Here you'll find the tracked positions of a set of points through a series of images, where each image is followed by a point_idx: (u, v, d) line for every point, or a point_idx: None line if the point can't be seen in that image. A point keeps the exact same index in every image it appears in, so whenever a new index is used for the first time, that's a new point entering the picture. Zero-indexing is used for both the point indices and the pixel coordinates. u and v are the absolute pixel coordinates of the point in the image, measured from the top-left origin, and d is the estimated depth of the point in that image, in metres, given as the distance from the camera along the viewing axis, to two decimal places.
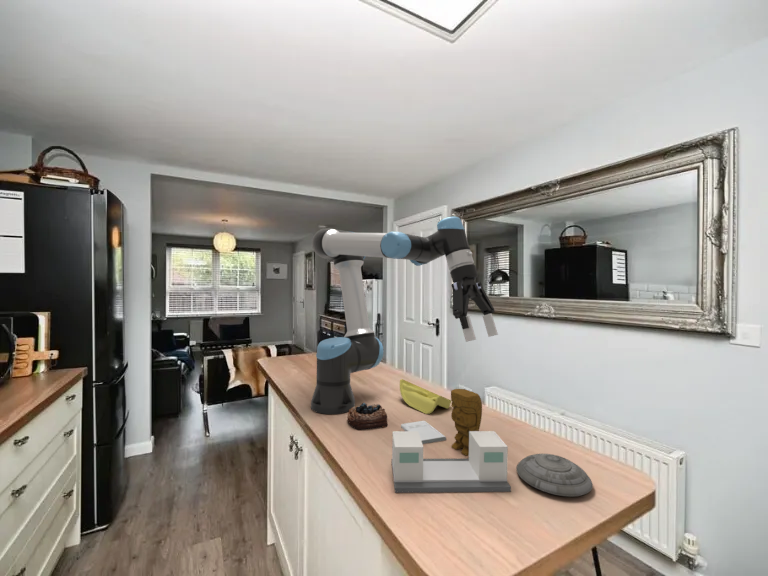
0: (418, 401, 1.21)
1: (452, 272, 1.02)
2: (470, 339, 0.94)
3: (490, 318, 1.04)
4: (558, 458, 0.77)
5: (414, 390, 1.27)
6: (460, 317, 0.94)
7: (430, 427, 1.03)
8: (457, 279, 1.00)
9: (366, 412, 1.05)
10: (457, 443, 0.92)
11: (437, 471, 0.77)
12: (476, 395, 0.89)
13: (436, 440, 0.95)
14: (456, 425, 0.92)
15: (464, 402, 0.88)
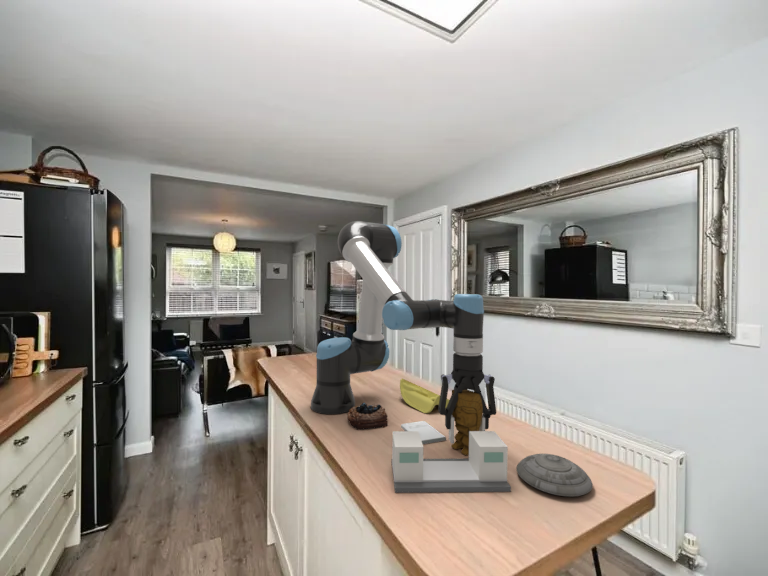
0: (417, 400, 1.22)
1: None
2: None
3: (481, 422, 0.90)
4: (558, 458, 0.77)
5: (414, 390, 1.28)
6: (445, 415, 0.91)
7: (430, 427, 1.02)
8: (453, 366, 0.92)
9: (366, 412, 1.06)
10: (457, 443, 0.92)
11: (437, 471, 0.77)
12: (477, 395, 0.89)
13: (436, 440, 0.95)
14: (456, 425, 0.92)
15: (465, 402, 0.88)
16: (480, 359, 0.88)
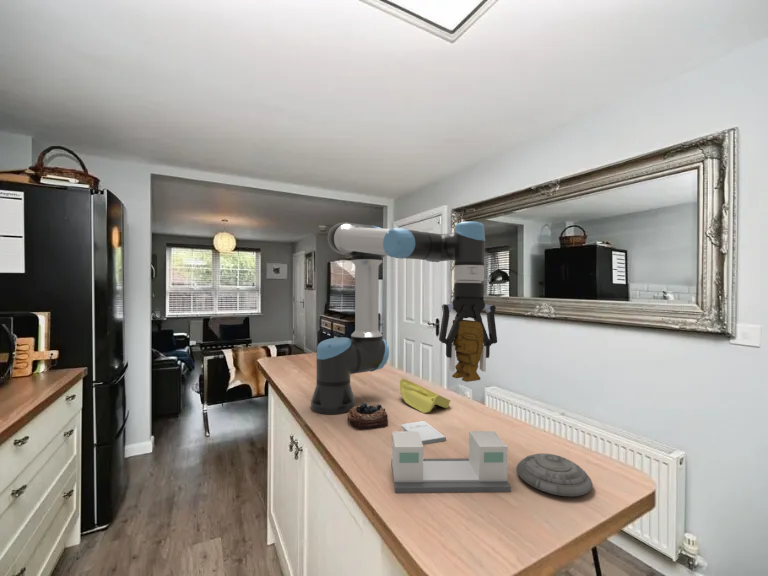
0: (417, 400, 1.22)
1: None
2: (450, 368, 0.91)
3: (482, 351, 0.90)
4: (558, 458, 0.77)
5: (414, 389, 1.28)
6: None
7: (430, 427, 1.02)
8: (454, 295, 0.92)
9: (367, 412, 1.06)
10: (458, 372, 0.92)
11: (437, 471, 0.77)
12: (478, 322, 0.89)
13: (436, 440, 0.95)
14: (457, 354, 0.92)
15: (466, 328, 0.88)
16: (481, 286, 0.88)
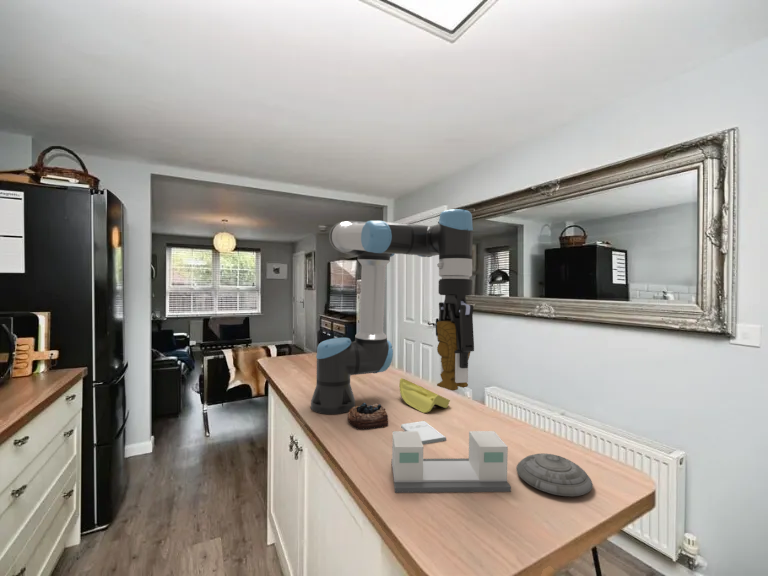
0: (416, 400, 1.22)
1: None
2: None
3: None
4: (558, 458, 0.77)
5: (413, 389, 1.28)
6: None
7: (430, 427, 1.02)
8: None
9: (367, 412, 1.06)
10: None
11: (437, 471, 0.77)
12: (448, 323, 0.78)
13: (436, 440, 0.95)
14: None
15: None
16: (447, 282, 0.78)
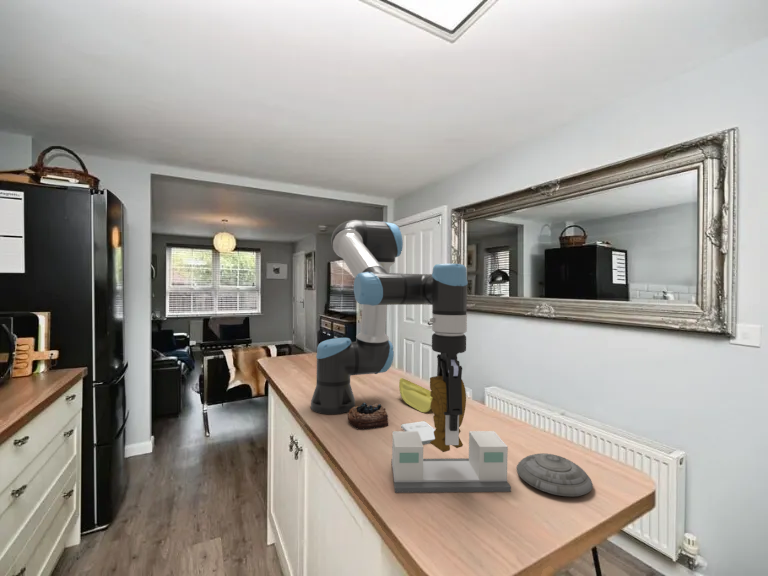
0: (416, 400, 1.23)
1: None
2: None
3: None
4: (558, 458, 0.77)
5: (413, 389, 1.28)
6: None
7: (430, 428, 1.02)
8: None
9: (367, 412, 1.06)
10: None
11: (437, 471, 0.77)
12: (439, 381, 0.76)
13: None
14: None
15: None
16: (438, 339, 0.75)
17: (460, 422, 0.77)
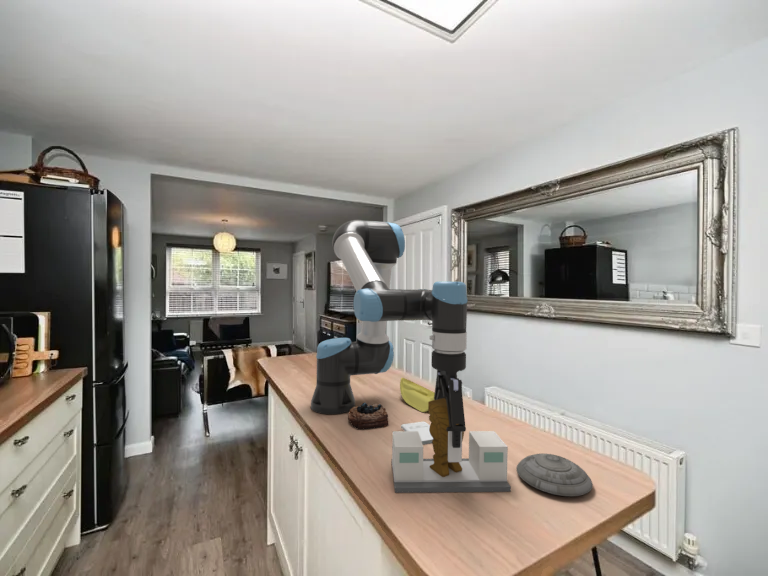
0: (416, 399, 1.23)
1: None
2: None
3: None
4: (558, 458, 0.77)
5: (413, 389, 1.29)
6: None
7: None
8: None
9: (367, 412, 1.06)
10: None
11: None
12: (437, 406, 0.76)
13: None
14: None
15: None
16: (438, 357, 0.75)
17: None
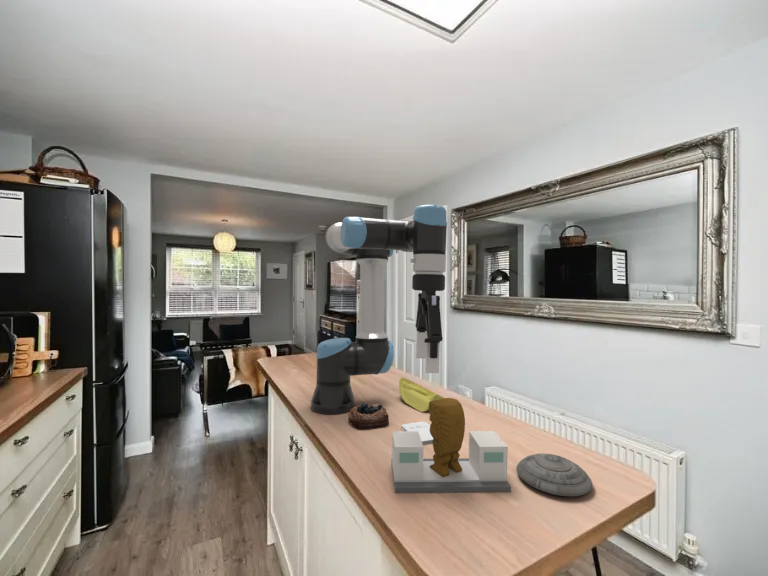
0: (415, 399, 1.23)
1: None
2: None
3: None
4: (558, 458, 0.77)
5: (413, 388, 1.29)
6: None
7: None
8: None
9: (368, 412, 1.06)
10: None
11: None
12: (438, 406, 0.76)
13: None
14: None
15: None
16: (418, 277, 0.78)
17: (459, 446, 0.77)
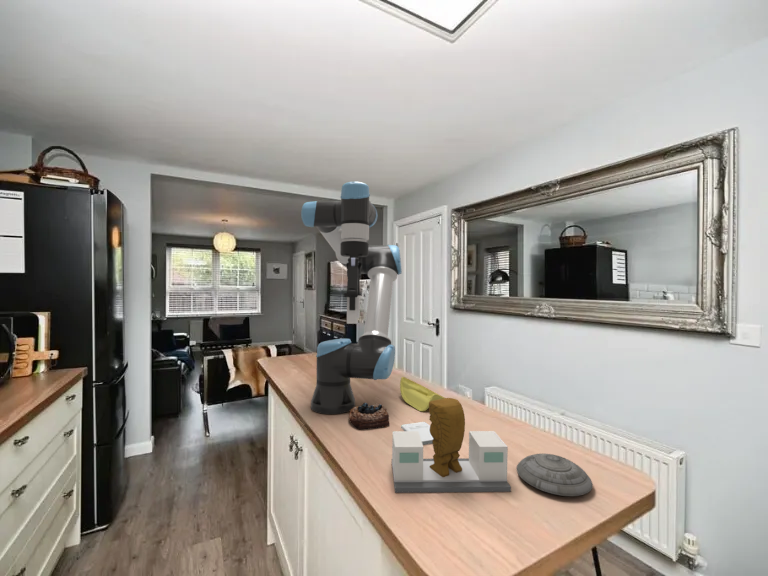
0: (415, 399, 1.24)
1: None
2: None
3: None
4: (558, 458, 0.77)
5: (413, 388, 1.29)
6: None
7: None
8: None
9: (368, 412, 1.06)
10: None
11: None
12: (438, 406, 0.76)
13: None
14: None
15: None
16: (343, 244, 0.91)
17: (459, 446, 0.77)
